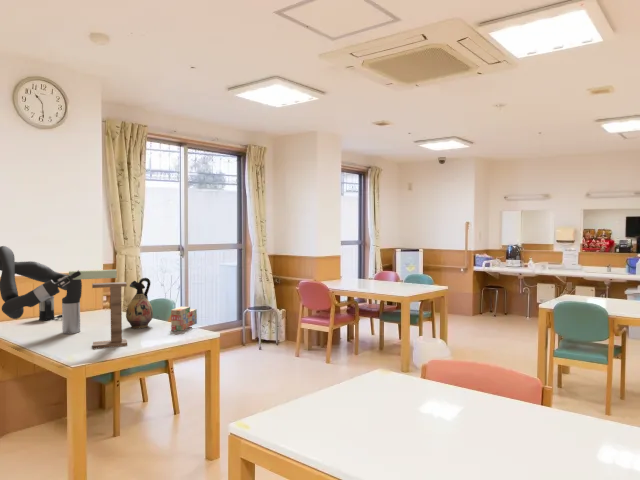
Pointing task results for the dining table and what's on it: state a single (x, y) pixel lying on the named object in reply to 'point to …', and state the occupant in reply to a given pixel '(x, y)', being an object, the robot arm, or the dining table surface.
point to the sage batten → (95, 274)
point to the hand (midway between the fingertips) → (79, 272)
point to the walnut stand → (113, 316)
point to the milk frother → (47, 310)
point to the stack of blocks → (183, 318)
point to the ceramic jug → (139, 306)
